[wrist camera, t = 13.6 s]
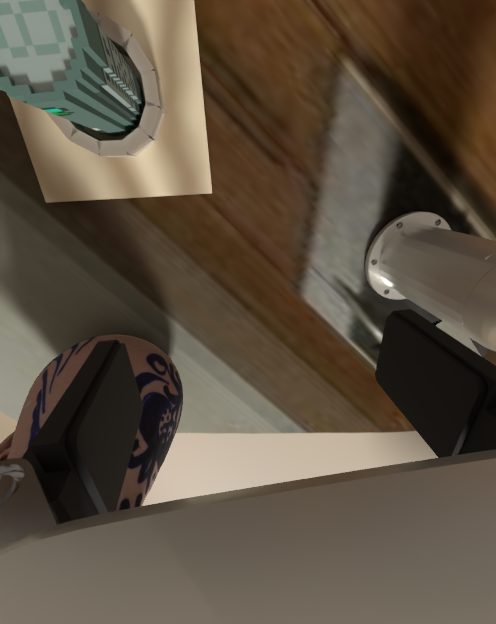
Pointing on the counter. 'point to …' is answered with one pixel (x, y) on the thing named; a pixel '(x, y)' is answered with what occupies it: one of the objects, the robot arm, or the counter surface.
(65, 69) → the can
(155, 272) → the counter surface
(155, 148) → the socket board
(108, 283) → the counter surface
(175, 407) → the ceramic pitcher
